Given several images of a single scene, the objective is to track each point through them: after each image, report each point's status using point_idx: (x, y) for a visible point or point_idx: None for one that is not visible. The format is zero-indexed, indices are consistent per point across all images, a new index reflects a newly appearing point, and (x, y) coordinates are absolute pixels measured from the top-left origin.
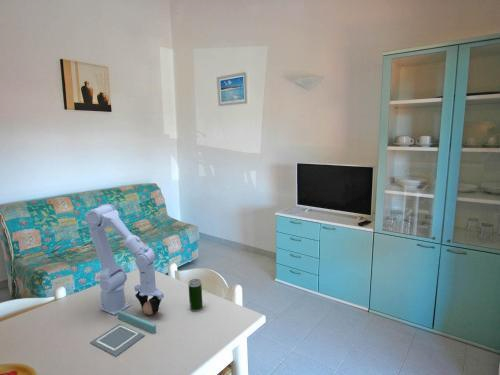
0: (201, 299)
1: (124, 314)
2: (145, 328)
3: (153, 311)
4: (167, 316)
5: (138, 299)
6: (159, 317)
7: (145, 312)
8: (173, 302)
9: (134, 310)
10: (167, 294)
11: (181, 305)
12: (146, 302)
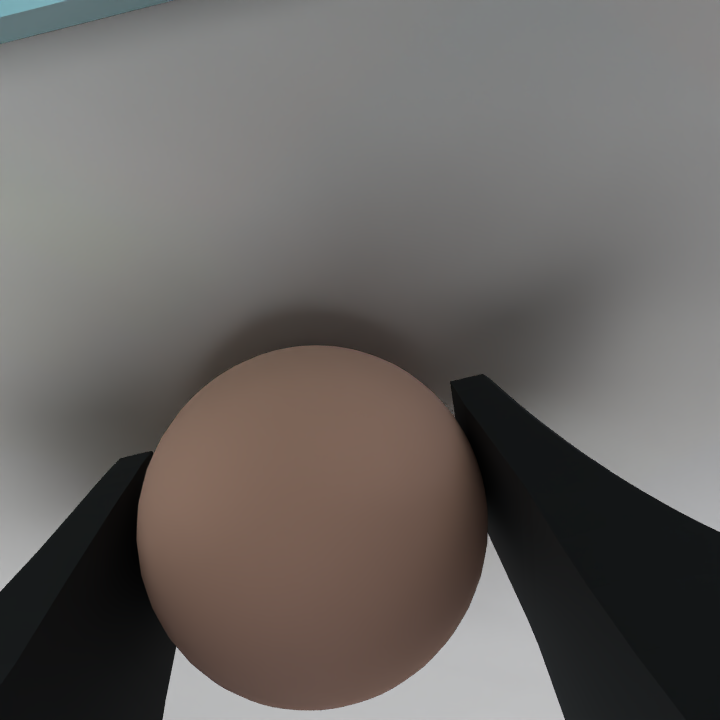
0: None
1: None
2: None
3: (87, 499)
4: (20, 544)
5: (705, 551)
6: (75, 459)
7: (249, 363)
8: None
9: (684, 258)
10: (550, 694)
11: (182, 715)
12: (358, 606)
